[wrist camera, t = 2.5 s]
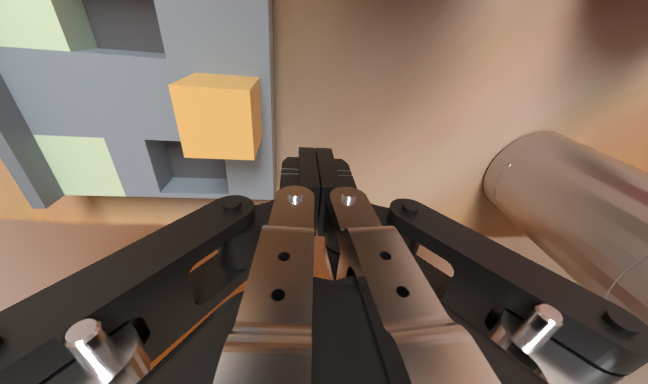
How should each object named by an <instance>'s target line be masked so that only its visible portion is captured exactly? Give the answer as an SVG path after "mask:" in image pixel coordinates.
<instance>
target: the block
mask: <svg viewBox="0 0 648 384" xmlns="http://www.w3.org/2000/svg"><path fill="white" fill-rule="evenodd" d="M168 87H169V91H170V96H171V100H172V105H173V109H174V114H175V118H176V123H177V127H178V132H179V136H180V141H181V145H182V150H183V154H184V158H204V159H231V160H255V157H256V154H257V151H258V148H259V145H260V142H261V139H262V115H261V94H260V77H250V76H236V75H222V74H208V73H193V74H191V75H189V76H187V77H184V78H182V79H180V80H178V81H176V82H174V83H172V84H169V85H168Z"/></svg>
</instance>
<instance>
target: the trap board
mask: <svg viewBox="0 0 648 384" xmlns="http://www.w3.org/2000/svg"><path fill="white" fill-rule="evenodd" d="M193 73H208V74H222V75H236V76H250V77H260V94H261V115H262V139H261V142H260V145H259V148H258V151H257V154H256V157H255V160H231V159H204V158H184V154H183V150H182V145H181V141H180V136H179V132H178V127H177V123H176V118H175V114H174V109H173V105H172V100H171V96H170V91H169V87H168V85H169V84H172V83H174V82H176V81H178V80H180V79H182V78H184V77H187V76H189V75H191V74H193ZM0 157H1V159H2V161H3V162H4V164H5V165H6V167H7V169H8V170H9V172H10V173H11V175H12V177H13V178H14V180H15V181H16V183H17V185H18V186H19V188H20V189H21V191H22V193H23V194H24V196H25V197H26V199H27V200H28V202H29V204H30V205H31V207H32V208H41V209H46V208H48V207H49V206H50V205H52V204H53V203H54V202H56V201H57V200H59V199H60V198H61V197H63V196H64V195H82V196H126V197H169V198H213V199H219V198H221V197H225V196H230V195H241V196H245V197H248V198H249V199H256V200H274V194H275V187H276V157H275V109H274V61H273V12H272V0H0Z"/></svg>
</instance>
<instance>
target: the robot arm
mask: <svg viewBox="0 0 648 384" xmlns="http://www.w3.org/2000/svg"><path fill="white" fill-rule="evenodd" d="M483 187H484V193H485V195H486V197H487V198H488V199H489V200H490V201H491V202H492V203H493V204H494V205H495V206H496V207H497V208H498V209H499V210H500V211H501V212H503V213H504V214H505V215H506V216H507V217H508V218H509V219H510V220H511V221H512V222H513V223H514V224H515V225H516V226H517V227H518V228H519V229H520V230H521V231H522V232H524V233H525V234H526V235H527V236H528V237H529V238H530V239H531V240H532V241H533V242H534V243H535V244H536V245H537V246H538V247H540V248H541V249H542V250H543V251H544V252H545V253H546V254H547V255H548V256H549V257H550V258H551V259H553V261H554V262H555V263H557V264H558V265H559V266H560V267H561V268H562V269H563V270H564V271H565V272H566V273H567V274H568V275H569V276H571V277H572V278H573V279H574V280H575V281H576V282H577V283H578V284H579V285H580V286H579V285H577V284H576V283H574V282H571V281H570V280H568V279H566V278H564V277H562V276H560V275H558V274H556V273H554V272H552V271H550V270H549V269H546V268H545V267H543V266H541V265H539V264H537V263H535V262H533V261H531V260H529V259H527V258H525V257H523V256H521V255H520V254H518V253H516V252H514V251H512V250H510V249H508V248H506V247H504V246H502V245H500V244H498V243H496V242H494V241H493V240H491V239H489V238H487V237H485V236H483V235H481V234H479V233H477V232H475V231H473V230H471V229H469V228H467V227H466V226H464V225H462V224H460V223H458V222H456V221H454V220H452V219H450V218H448V217H446V216H444V215H442V214H440V213H438V212H437V211H435V210H433V209H431V208H429V207H427V206H425V205H423V204H421V203H419V202H417V201H414V200H410V199H396V200H394V201H393V202H392V203H391V204H390V208H386V207H381V206H377V205H373V204H371V203H370V201H369V200H368V198H367V196H366V194H365V193H363V192H362V191H360V190H358V189H357V187H356V185H355V182H354V179H353V176H352V174H351V171H350V168H349V165H348V164H347V163H346V162H345V161H344V160H342V159H334V157H333V153H332V149H331V148H316V149H315V148H305V147H299V158H297V157H287V158H286V159H285V160H284V161H283V162H282V170H281V180H280V190H278V191H277V193H276V195H275V199H274V200H272V201H270V202H268V203H265V204H260V205H254V203H253V201H252V200H251V199H249V198H248V197H245V196H241V195H230V196H225V197H221V198H219V199H217V200H215V201H213V202H211V203H209V204H207V205H205V206H203V207H202V208H200V209H198V210H196V211H194V212H192V213H190V214H188V215H186V216H184V217H182V218H180V219H178V220H176V221H174V222H173V223H171V224H169V225H167V226H165V227H163V228H161V229H159V230H157V231H155V232H153V233H151V234H149V235H148V236H146V237H144V238H142V239H140V240H138V241H136V242H134V243H132V244H130V245H128V246H126V247H125V248H122V249H120V250H118V251H117V252H115V253H113V254H111V255H109V256H107V257H105V258H103V259H101V260H99V261H97V262H95V263H93V264H91V265H90V266H88V267H86V268H84V269H82V270H80V271H78V272H76V273H74V274H72V275H70V276H68V277H67V278H64V279H62V280H61V281H59V282H57V283H55V284H53V285H51V286H49V287H47V288H45V289H43V290H41V291H39V292H37V293H36V294H34V295H32V296H30V297H28V298H26V299H24V300H22V301H20V302H18V303H16V304H14V305H12V306H11V307H8V308H6V309H5V310H3V311H1V312H0V384H622V380H623V379H624V378H625V377H627V376H628V375H629V374H631V373H633V372H634V371H636V370H637V369H638V368H640V367H641V366H643V365H644V364H646V363H647V362H648V172H645V171H643V170H641V169H638V168H636V167H634V166H631V165H629V164H627V163H624V162H622V161H620V160H617V159H615V158H613V157H611V156H608V155H606V154H604V153H601V152H599V151H597V150H595V149H592V148H590V147H588V146H585V145H583V144H581V143H578V142H576V141H574V140H571V139H569V138H567V137H564V136H562V135H560V134H557V133H554V132H538V133H533V134H530V135H527V136H524V137H522V138H520V139H518V140H516V141H515V142H513V143H512V144H510V145H509V146H507V147H506V148H505V149H504V150H503V151H502V152H500V153H499V154H498V155H497V157H496V158H495V159H494V160H493V162H492V163H491V164H490V166H489V168H488V170H487V172H486V175H485V178H484V185H483ZM316 231H317V234H318V236H324V238H325V244H324V255H325V259H326V264H327V268H328V272H329V277H330V280H327V279H322V278H317V277H313V263H314V236H316ZM420 244H421V245H422V246H424V247H426V248H427V249H429V250H430V251H432V252H433V253H435V254H437V255H438V256H440V257H442V258H443V259H445V260H446V261H448V262H449V263H450V264H451V265H452V267H453V269H454V276H453V277H450V276H448V275H446V274H445V273H443V272H442V271H440V270H439V269H437V268H435V267H434V266H432V265H431V264H429V263H428V262H426V261H425V260H423V259H422V258H420V257H419V256H417V255H416V253H417V250H418V248H419V245H420ZM216 249H217V251H218V254H216V255H215V256H214V257H212V258H211V259H209V260H208V261H206V262H205V263H203V264H202V265H200V266H199V267H198V268H196V269H195V270H193V271H192V272H190V270H191V269H192V267H193V266H194V265H195V264H196V263H197V262H199V261H200V260H202V259H203V258H205V257H206V256H208V255H209V254H211V253H212V252H214V251H215V250H216ZM189 272H190V273H189ZM246 280H247V283H246V286H245V290H244V291H242V292H240V293H238V294H237V295H235V296H233V297H231V298H230V299H229V300H227V301H226V302H224V303H223V304H222V305H221V306H220V307H218V308H217V309H216V310H215V311H214V312H213V313H212V314H211V315H210V316H209V317H208V318H206V319H205V320H204V321H203V322H202V323H201V324H200V325H199V326H198V327H197V328H196V329H195V330H194V331H193V332H191V333H190V334H189V335H188V336H187V337H186V338H185V339H184V340H183V341H182V342H181V343H180V344H178V345H177V346H176V347H175V348H174V349H173V350H172V351H171V352H170V353H169V354H168V355H167V356H166V357H164V358H163V359H162V360H161V361H160V362H159V363H158V364H157V365H156V366H155V367H154V368H153V369H152V370H150V367H151V362H152V361H153V360H155V359H156V358H157V357H158V356H159V355H161V354H162V353H163V352H164V351H165V350H166V349H167V348H168V347H170V346H171V345H172V344H173V343H174V342H175V341H177V340H178V339H179V338H180V337H181V336H182V335H183V334H185V333H186V332H187V331H188V330H189V329H191V328H192V327H193V326H194V325H195V324H196V323H197V322H199V321H200V320H201V319H202V318H203V317H204V316H205V315H207V314H208V313H209V312H210V311H211V310H212V309H213V308H215V307H216V306H217V305H218V304H219V303H220V302H222V301H223V300H224V299H225V298H226V297H227V296H229V295H230V294H231V293H232V292H233V291H234V290H235V289H236V288H238V287H239V286H240V285H241V284H242V283H243V282H245V281H246Z"/></svg>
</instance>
